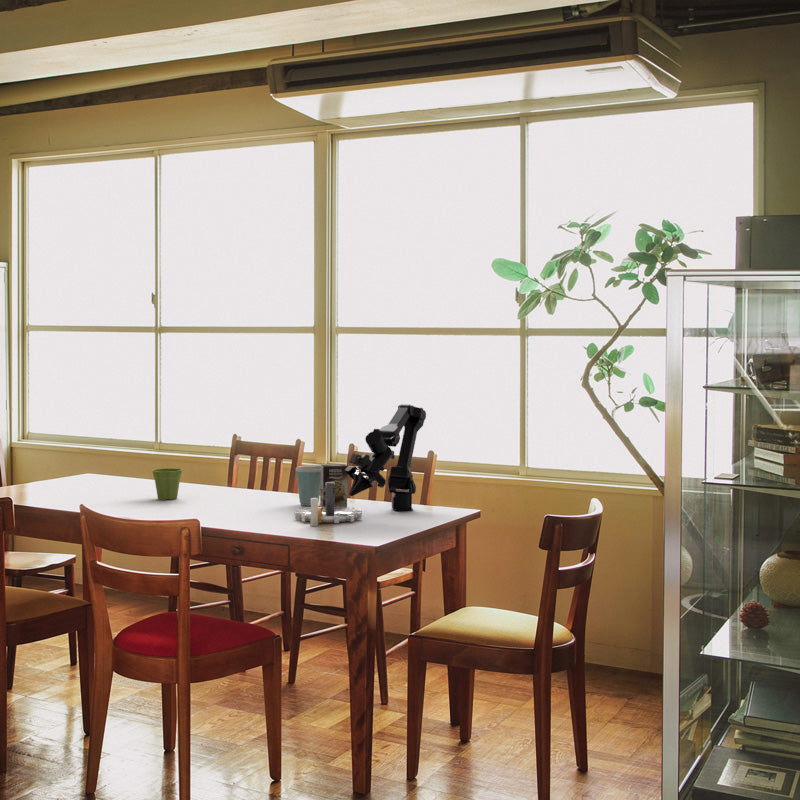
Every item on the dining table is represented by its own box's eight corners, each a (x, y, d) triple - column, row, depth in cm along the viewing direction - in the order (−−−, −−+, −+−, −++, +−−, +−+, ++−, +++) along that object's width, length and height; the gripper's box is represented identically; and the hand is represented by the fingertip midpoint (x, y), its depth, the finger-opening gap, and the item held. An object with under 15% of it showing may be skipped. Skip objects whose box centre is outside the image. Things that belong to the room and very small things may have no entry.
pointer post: (317, 524, 321) (317, 497, 321) (318, 526, 319) (318, 498, 318) (310, 525, 321) (310, 498, 320) (311, 526, 318) (311, 499, 318)
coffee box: (322, 510, 349) (323, 466, 348) (319, 508, 355) (320, 464, 355) (347, 510, 351) (348, 465, 351) (344, 507, 358) (344, 463, 357)
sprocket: (369, 513, 342) (369, 476, 341) (352, 524, 319) (352, 485, 319) (306, 510, 347) (306, 474, 346) (285, 521, 324) (285, 482, 324)
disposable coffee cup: (289, 505, 360) (289, 465, 359) (305, 501, 370) (305, 462, 369) (313, 508, 355) (313, 467, 354) (329, 504, 365) (329, 464, 364)
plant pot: (187, 496, 380) (187, 468, 379) (177, 501, 368) (177, 471, 368) (157, 496, 381) (157, 467, 381) (147, 500, 369) (146, 471, 369)
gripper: (349, 442, 338) (321, 476, 333) (378, 447, 323) (350, 483, 317) (368, 463, 343) (341, 497, 338) (398, 469, 328) (370, 505, 322)
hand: (350, 495), depth 329 cm, fingers closed
